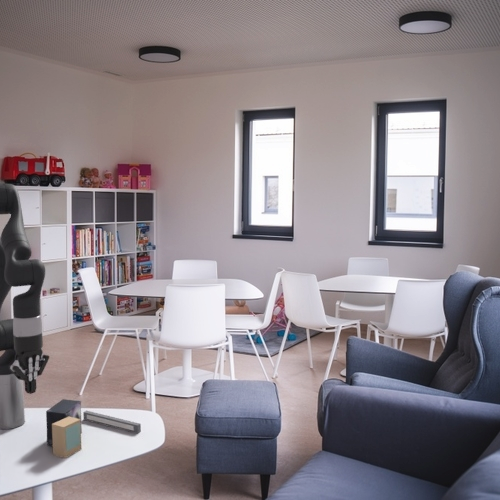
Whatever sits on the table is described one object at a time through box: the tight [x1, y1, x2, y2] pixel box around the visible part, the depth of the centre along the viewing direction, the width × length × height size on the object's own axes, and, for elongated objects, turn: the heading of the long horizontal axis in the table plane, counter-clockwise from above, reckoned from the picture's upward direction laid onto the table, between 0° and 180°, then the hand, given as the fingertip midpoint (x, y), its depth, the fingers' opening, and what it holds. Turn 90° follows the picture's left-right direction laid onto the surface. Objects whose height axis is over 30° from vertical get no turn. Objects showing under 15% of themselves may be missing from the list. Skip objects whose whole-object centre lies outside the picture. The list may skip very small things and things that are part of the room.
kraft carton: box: [52, 417, 82, 459], centre depth 187 cm, size 5×6×9 cm
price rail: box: [83, 410, 142, 434], centre depth 206 cm, size 22×2×2 cm, turn 60°
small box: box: [45, 398, 83, 447], centre depth 195 cm, size 11×6×10 cm, turn 168°
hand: (30, 392), depth 183 cm, fingers closed
